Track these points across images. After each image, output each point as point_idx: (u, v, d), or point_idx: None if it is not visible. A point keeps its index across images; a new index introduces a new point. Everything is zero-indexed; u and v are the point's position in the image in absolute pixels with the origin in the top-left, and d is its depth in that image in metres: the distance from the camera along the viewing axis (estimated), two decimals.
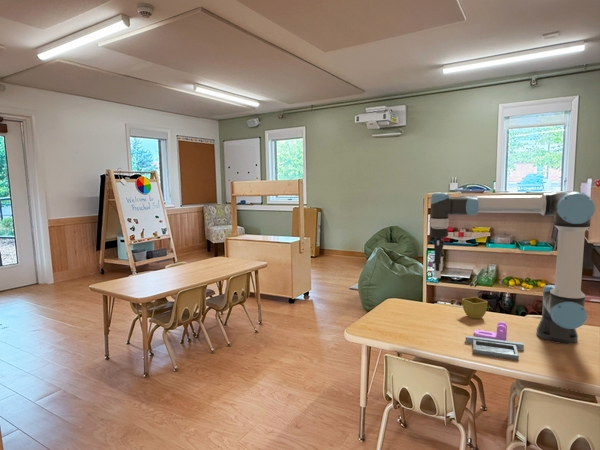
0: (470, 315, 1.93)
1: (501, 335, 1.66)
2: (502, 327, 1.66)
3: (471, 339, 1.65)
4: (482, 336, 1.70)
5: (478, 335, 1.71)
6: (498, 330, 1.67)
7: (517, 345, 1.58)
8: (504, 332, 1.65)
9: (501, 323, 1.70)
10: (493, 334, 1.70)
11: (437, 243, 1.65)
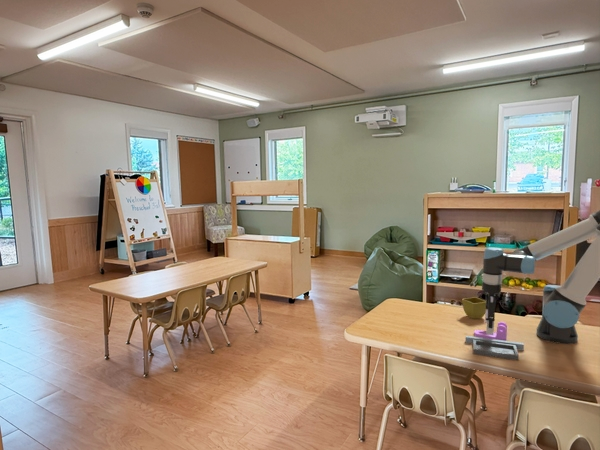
0: (470, 315, 1.93)
1: (501, 335, 1.66)
2: (502, 327, 1.66)
3: (471, 339, 1.65)
4: (482, 336, 1.70)
5: (478, 335, 1.71)
6: (498, 330, 1.67)
7: (517, 345, 1.58)
8: (504, 332, 1.65)
9: (501, 323, 1.70)
10: (493, 334, 1.70)
11: (491, 300, 1.63)
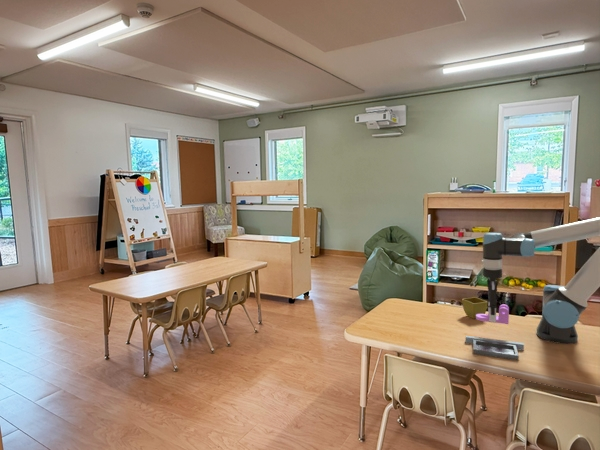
0: (470, 315, 1.93)
1: (503, 317, 1.65)
2: (504, 309, 1.64)
3: (471, 339, 1.65)
4: (484, 319, 1.69)
5: (480, 318, 1.70)
6: (500, 312, 1.65)
7: (517, 345, 1.58)
8: (506, 314, 1.64)
9: (503, 306, 1.68)
10: None
11: (492, 288, 1.62)
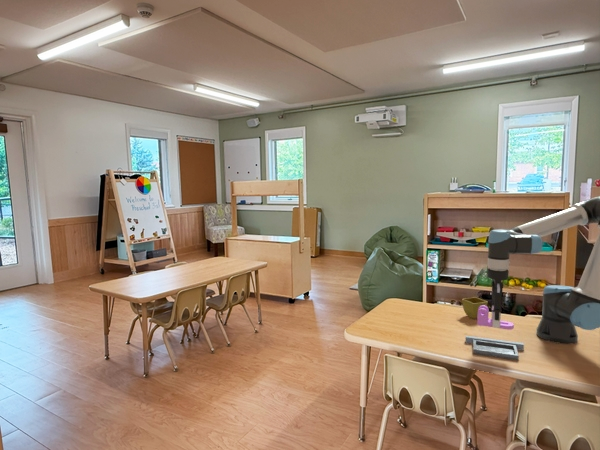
0: (470, 315, 1.93)
1: None
2: None
3: (471, 339, 1.65)
4: None
5: None
6: None
7: (517, 345, 1.58)
8: None
9: None
10: (491, 321, 1.55)
11: None
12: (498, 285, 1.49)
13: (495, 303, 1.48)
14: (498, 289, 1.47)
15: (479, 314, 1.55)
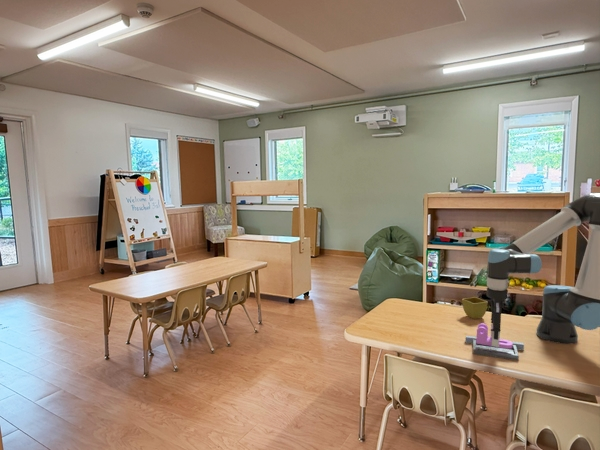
0: (470, 315, 1.93)
1: None
2: None
3: (471, 339, 1.65)
4: None
5: None
6: None
7: (517, 345, 1.58)
8: None
9: None
10: (490, 339, 1.56)
11: None
12: (497, 305, 1.50)
13: (494, 322, 1.49)
14: (498, 309, 1.48)
15: (478, 333, 1.56)
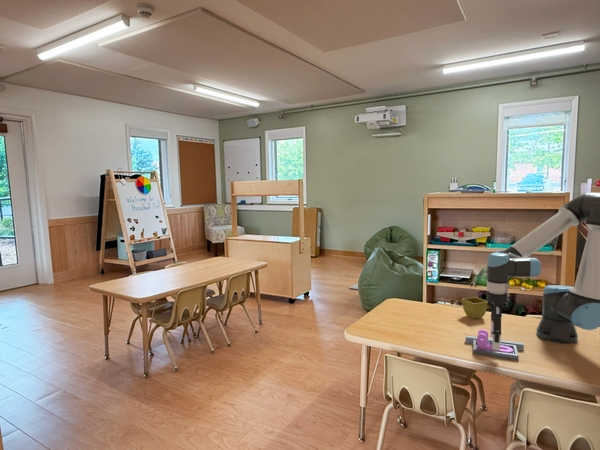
0: (470, 315, 1.93)
1: None
2: None
3: (471, 339, 1.65)
4: None
5: None
6: None
7: (517, 345, 1.58)
8: None
9: None
10: (491, 346, 1.57)
11: None
12: (497, 307, 1.50)
13: (495, 325, 1.47)
14: (498, 310, 1.48)
15: (479, 339, 1.56)
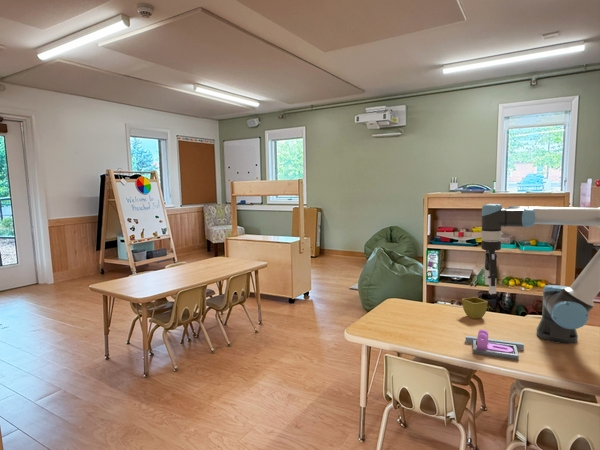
0: (470, 315, 1.93)
1: None
2: None
3: (471, 339, 1.65)
4: None
5: None
6: None
7: (517, 345, 1.58)
8: None
9: None
10: (491, 346, 1.57)
11: None
12: (492, 254, 1.59)
13: (491, 269, 1.56)
14: (493, 255, 1.57)
15: (479, 339, 1.56)
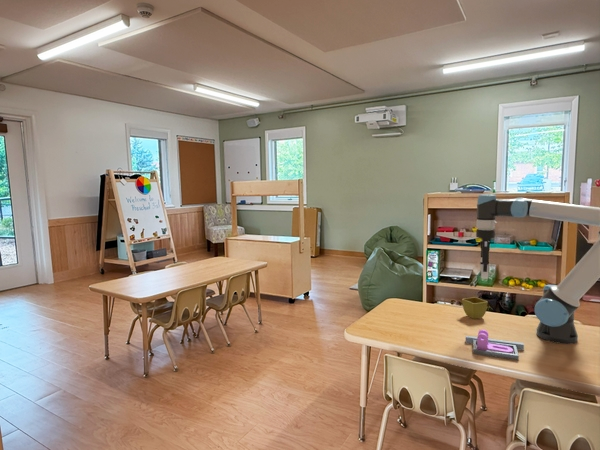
0: (470, 315, 1.93)
1: None
2: None
3: (471, 339, 1.65)
4: None
5: None
6: None
7: (517, 345, 1.58)
8: None
9: None
10: (491, 346, 1.57)
11: None
12: (485, 241, 1.68)
13: (483, 255, 1.65)
14: (486, 243, 1.66)
15: (479, 339, 1.56)
